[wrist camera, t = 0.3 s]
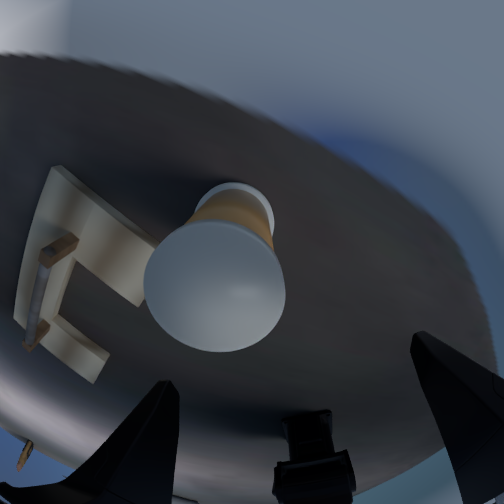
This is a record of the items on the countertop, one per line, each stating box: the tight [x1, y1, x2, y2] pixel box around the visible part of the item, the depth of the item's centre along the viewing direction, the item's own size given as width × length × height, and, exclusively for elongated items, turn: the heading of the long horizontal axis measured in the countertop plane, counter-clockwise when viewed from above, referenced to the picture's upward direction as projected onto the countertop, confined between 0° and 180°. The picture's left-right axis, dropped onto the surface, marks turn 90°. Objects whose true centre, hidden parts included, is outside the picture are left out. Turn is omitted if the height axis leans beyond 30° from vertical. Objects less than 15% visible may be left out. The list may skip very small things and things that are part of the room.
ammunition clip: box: [17, 439, 33, 472], centre depth 41 cm, size 11×2×12 cm, turn 141°
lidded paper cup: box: [143, 182, 285, 352], centre depth 17 cm, size 6×6×12 cm
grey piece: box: [14, 165, 160, 384], centre depth 22 cm, size 14×22×6 cm, turn 142°
